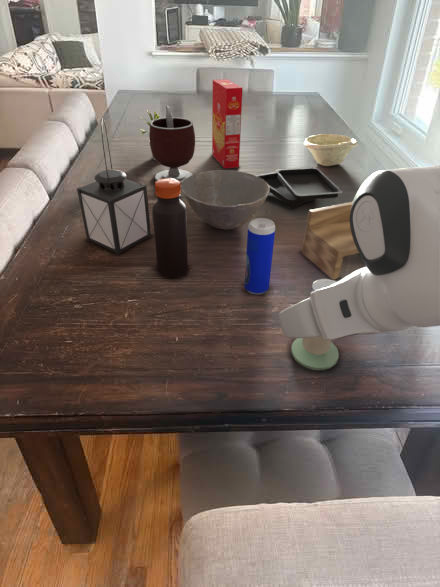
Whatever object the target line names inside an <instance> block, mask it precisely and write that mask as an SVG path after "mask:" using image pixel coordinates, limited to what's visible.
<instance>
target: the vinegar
mask: <svg viewBox="0 0 440 587" xmlns="http://www.w3.org/2000/svg"><path fill="white" fill-rule="evenodd" d="M154 191H155V192H154V193H155V197H156V199H157V200H156V201H155V202H154V203H153V205H152V207H151V213H152V214H151V216H152V225H153V236H154V247H155V257H156V268H157V272H158V274H159V275H161V276H162V277H165V278H170V279H173V278H174V279H175V278H180V277H181V276H185V274H187V272H188V270H189V254H188V253H189V252H188V250H189V249H188V248H189V247H188V224H187V221H188V220H187V206H186V204H185V203H184V202H183V201H182V200H181V199H180V198H181V194H182V192H181V185H180V181H178V180H176V179H172V178H165V179H160V180H158V181H156V180H155V182H154Z"/></svg>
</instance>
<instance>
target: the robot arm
mask: <svg viewBox="0 0 440 587" xmlns="http://www.w3.org/2000/svg"><path fill="white" fill-rule="evenodd" d="M352 202H353V203H352V207H351V211H350V228H351V233H352V237H353V240H354V243H355V245H356V248H357V250H358V252H359V253H358V254H359V255H360V258H361V259H362V261H363V264H364V265H365V266H364V267H361V268H358V269H356V270H354V271H352V272H351V273H350V274H347V275H345V276H344V277H343V278H341V279H339V280H338V281H337V282H336V283H333V284H331V285H329V286H326V287H323V288H320V289H318V290H316V291H313V292H311V291H310V293H309V297H308V298H305V299H303V300H301V301H299V302H297V303H295V304H293V305H290V306H289V307H286V308H285V309H283V310H280V312H279V314H278V320H279V325H280V328H281V331H282V333H283V335H284V336H285V337H286V338H288V339H297V338H311V337H319V336H322V337H323V339H324V340H331V341H333V340H339V339H343V338H347V337H351V336H357V335H364V336H365V335H367V336H369V335H377V334H378V335H379V334H386V333H395V332H400V331H405V330H408V329H410V328H413V327H415V328H432V327H440V165H431V166H415V167H402V168H392V169H382V170H378V171H375V172H373V173H372V174H371V175H368V177H367V178H366V179H365V180H364V181H363V182H362V184H361V185H360V187H359V188H358V190H357V192H356V194H355V196H354V198H353V200H352Z"/></svg>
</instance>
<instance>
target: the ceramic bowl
mask: <svg viewBox="0 0 440 587" xmlns="http://www.w3.org/2000/svg"><path fill="white" fill-rule="evenodd" d="M180 186H181V194H182V195H183V196H184V198H185V200H186V202H187V203H188V206H189V207H190V208H191V210H192V211H193V212H194V214H195V215H196V216H197V218H198V219H199V220H201V221H203V222H204V223H206V224H208V225H209V226H211V227H213V228H216V229H222V230H232V229H236V228H239V227H241V226H243V225H245V224H246V223H247V222H249V220H250V221H251V220H252V219H253V216H255V214H256V213H258V211H259V210H260V209H261V207H262V205H264V203H265V201H266V198H267V196H268V194H269V190H270V187H269V185H268V184H267V182H266V181H264V180H263V179H261V178H259V177H257V176H255V174H252V173H249V172H244V171H239V170H227V169H225V170H223V169H220V170H217V169H216V170H207V171H203V172H199V173H195V174H193V175H192V176H190V177H187V178H186V179H185V180H183V181H182V183H181V185H180Z"/></svg>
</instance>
